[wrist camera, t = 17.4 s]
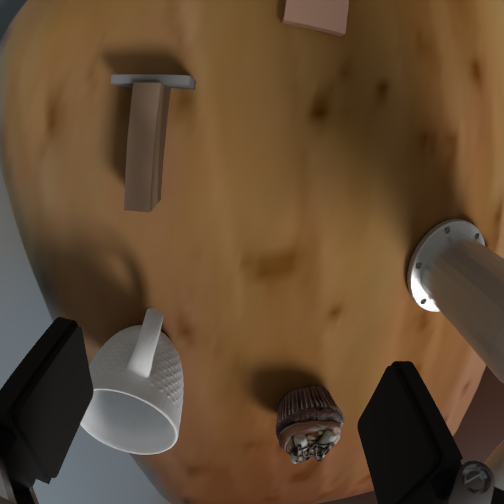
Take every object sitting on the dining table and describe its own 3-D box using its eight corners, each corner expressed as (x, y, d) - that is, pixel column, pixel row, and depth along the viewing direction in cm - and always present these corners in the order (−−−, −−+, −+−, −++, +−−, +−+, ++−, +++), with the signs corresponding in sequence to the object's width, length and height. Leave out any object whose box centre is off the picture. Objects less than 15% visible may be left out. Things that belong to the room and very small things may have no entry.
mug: (120, 268, 34) (73, 340, 22) (212, 301, 36) (204, 385, 24) (102, 360, 39) (72, 433, 27) (178, 386, 41) (166, 464, 29)
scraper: (196, 81, 27) (189, 74, 23) (183, 201, 32) (175, 214, 28) (126, 79, 26) (109, 74, 22) (117, 196, 31) (101, 208, 27)
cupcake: (276, 426, 46) (284, 478, 37) (268, 388, 42) (276, 446, 33) (336, 414, 46) (351, 464, 36) (336, 374, 42) (355, 429, 33)
